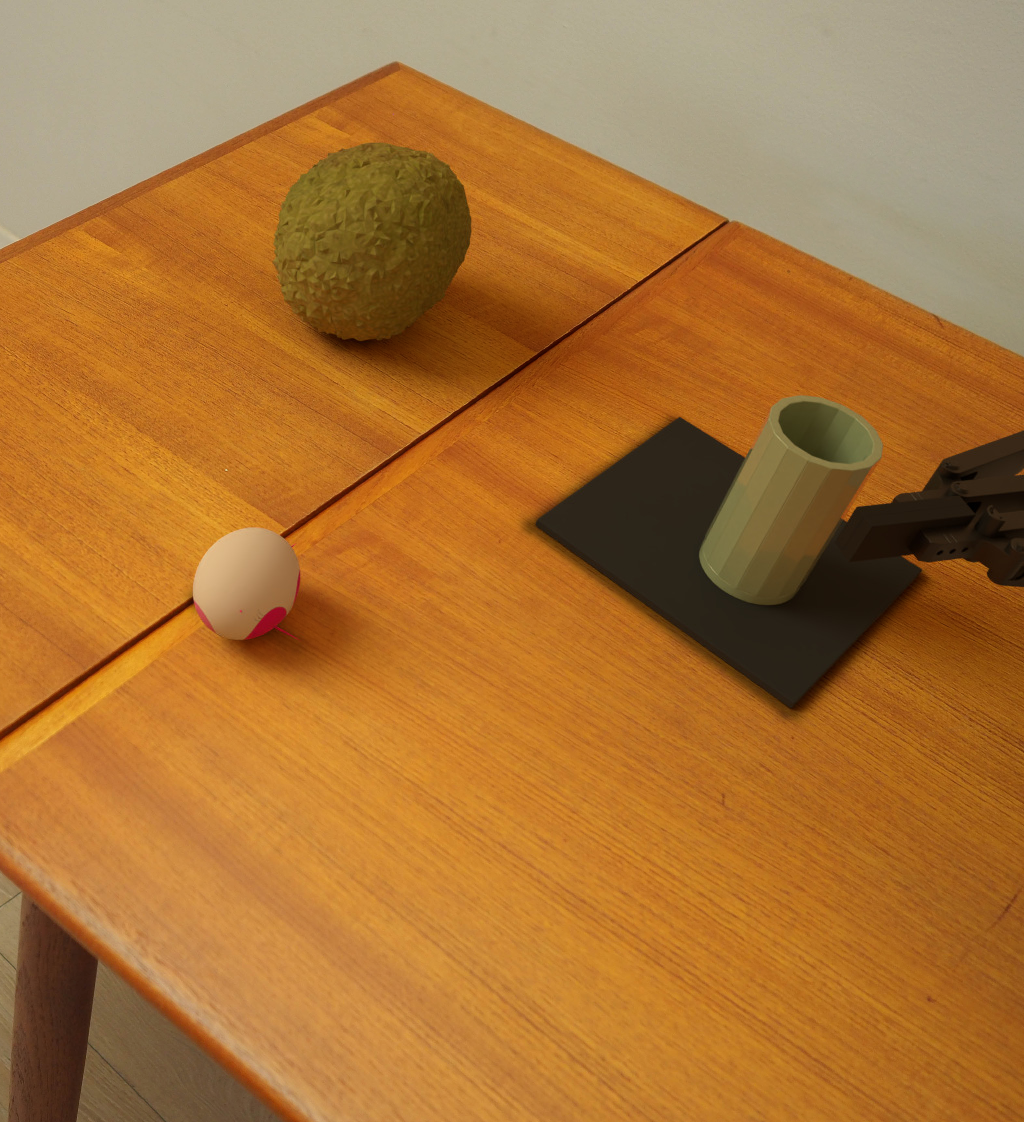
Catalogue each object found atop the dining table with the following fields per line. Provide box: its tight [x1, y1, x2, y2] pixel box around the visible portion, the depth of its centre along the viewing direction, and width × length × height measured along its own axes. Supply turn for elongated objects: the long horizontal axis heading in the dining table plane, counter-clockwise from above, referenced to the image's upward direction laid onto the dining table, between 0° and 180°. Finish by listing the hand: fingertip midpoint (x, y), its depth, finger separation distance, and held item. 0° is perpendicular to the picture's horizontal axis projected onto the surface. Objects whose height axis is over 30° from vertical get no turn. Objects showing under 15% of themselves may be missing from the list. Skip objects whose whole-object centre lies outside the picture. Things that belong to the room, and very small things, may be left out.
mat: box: [534, 416, 923, 709], centre depth 87 cm, size 20×18×1 cm
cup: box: [699, 394, 884, 605], centre depth 81 cm, size 7×7×12 cm
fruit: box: [271, 142, 473, 342], centre depth 96 cm, size 16×14×15 cm
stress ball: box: [192, 526, 302, 642], centre depth 76 cm, size 8×8×7 cm
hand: (853, 534), depth 67 cm, fingers closed
